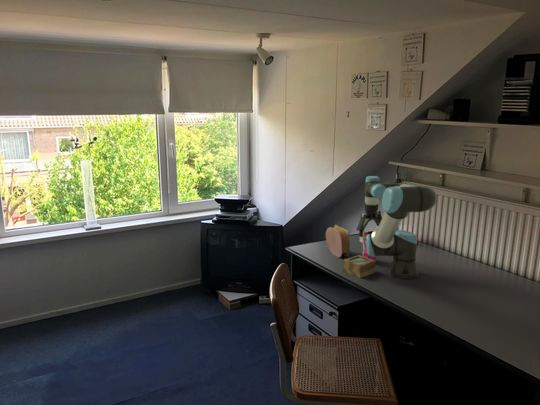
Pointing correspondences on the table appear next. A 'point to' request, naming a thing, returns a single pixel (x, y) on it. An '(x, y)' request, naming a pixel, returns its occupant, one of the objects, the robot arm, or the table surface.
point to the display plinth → (359, 266)
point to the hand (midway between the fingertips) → (369, 239)
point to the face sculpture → (338, 241)
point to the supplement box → (367, 253)
